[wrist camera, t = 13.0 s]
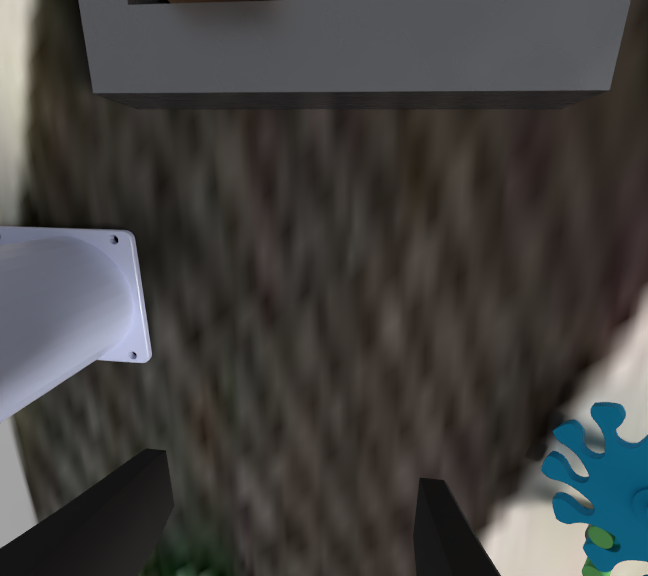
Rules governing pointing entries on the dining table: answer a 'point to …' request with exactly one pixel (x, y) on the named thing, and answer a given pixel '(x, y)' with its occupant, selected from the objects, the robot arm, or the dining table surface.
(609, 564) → the gear
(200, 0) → the walnut block
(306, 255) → the dining table surface
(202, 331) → the dining table surface
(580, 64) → the rail block
